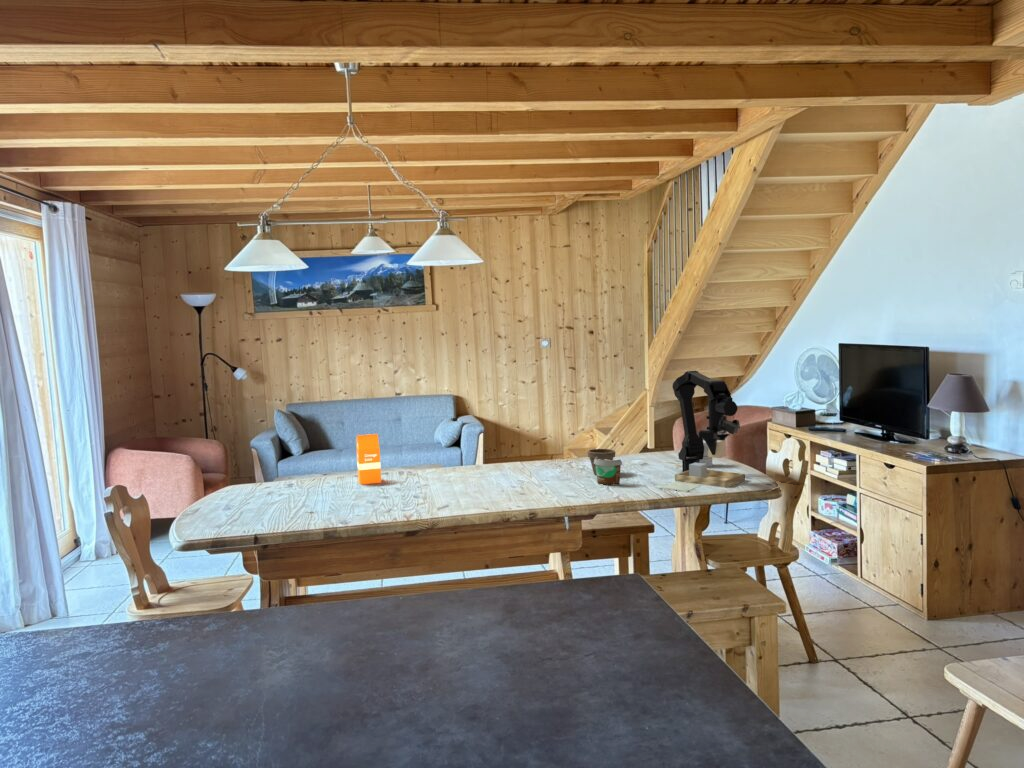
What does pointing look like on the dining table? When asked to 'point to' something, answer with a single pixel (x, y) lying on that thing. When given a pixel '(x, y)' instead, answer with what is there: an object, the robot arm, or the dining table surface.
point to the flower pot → (600, 456)
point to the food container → (608, 471)
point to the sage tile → (681, 486)
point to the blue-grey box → (698, 470)
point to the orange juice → (368, 459)
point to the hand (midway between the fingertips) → (716, 453)
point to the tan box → (719, 450)
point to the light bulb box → (706, 456)
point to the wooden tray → (712, 478)
